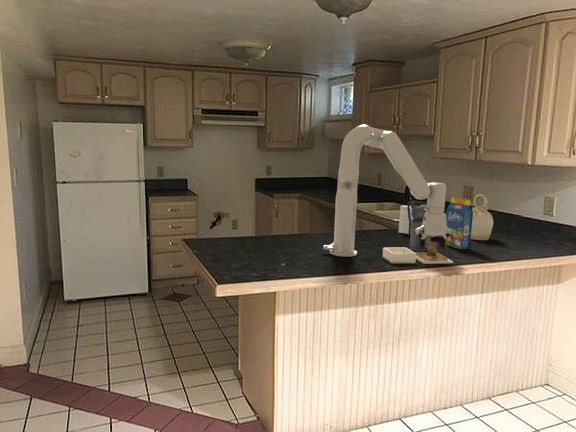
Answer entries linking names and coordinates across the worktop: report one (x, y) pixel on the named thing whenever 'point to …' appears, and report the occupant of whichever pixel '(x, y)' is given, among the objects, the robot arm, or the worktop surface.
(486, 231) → the jug
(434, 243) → the lid
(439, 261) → the box
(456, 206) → the blue food package
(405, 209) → the skincare box
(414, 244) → the beverage bottle
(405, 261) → the dish
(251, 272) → the worktop surface
